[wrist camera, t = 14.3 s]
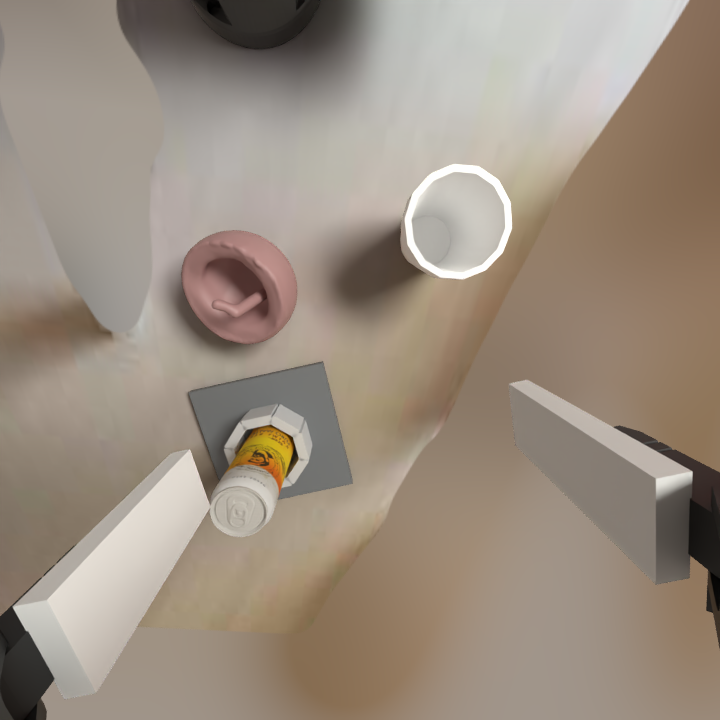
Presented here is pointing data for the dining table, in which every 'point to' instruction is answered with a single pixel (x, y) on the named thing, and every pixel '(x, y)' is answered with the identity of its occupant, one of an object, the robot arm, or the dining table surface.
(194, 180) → the dining table surface
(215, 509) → the beer can
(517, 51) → the dining table surface
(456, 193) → the foam cup
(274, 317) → the mortar and pestle
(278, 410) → the socket
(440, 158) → the dining table surface
